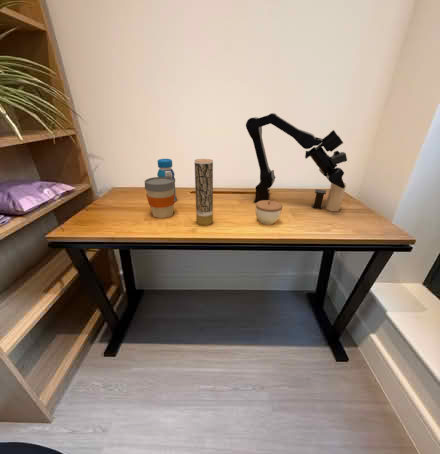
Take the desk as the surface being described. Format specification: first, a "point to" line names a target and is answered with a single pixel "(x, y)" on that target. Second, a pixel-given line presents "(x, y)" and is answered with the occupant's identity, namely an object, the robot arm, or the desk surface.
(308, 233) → the desk surface
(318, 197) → the leg piece
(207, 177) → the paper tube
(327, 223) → the desk surface
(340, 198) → the pen pot
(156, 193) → the reusable coffee cup
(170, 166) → the beverage bottle
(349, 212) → the desk surface
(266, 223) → the trinket box
